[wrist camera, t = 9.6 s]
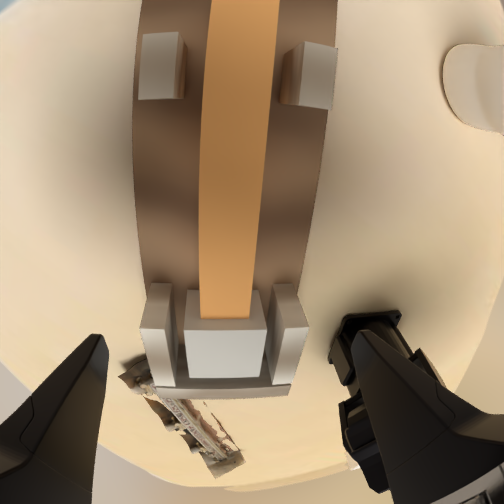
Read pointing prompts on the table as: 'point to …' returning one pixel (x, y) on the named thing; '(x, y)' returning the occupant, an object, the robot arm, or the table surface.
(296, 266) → the cable board
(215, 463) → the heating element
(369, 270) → the table surface
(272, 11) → the tan bar grey block
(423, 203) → the table surface
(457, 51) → the water bottle
